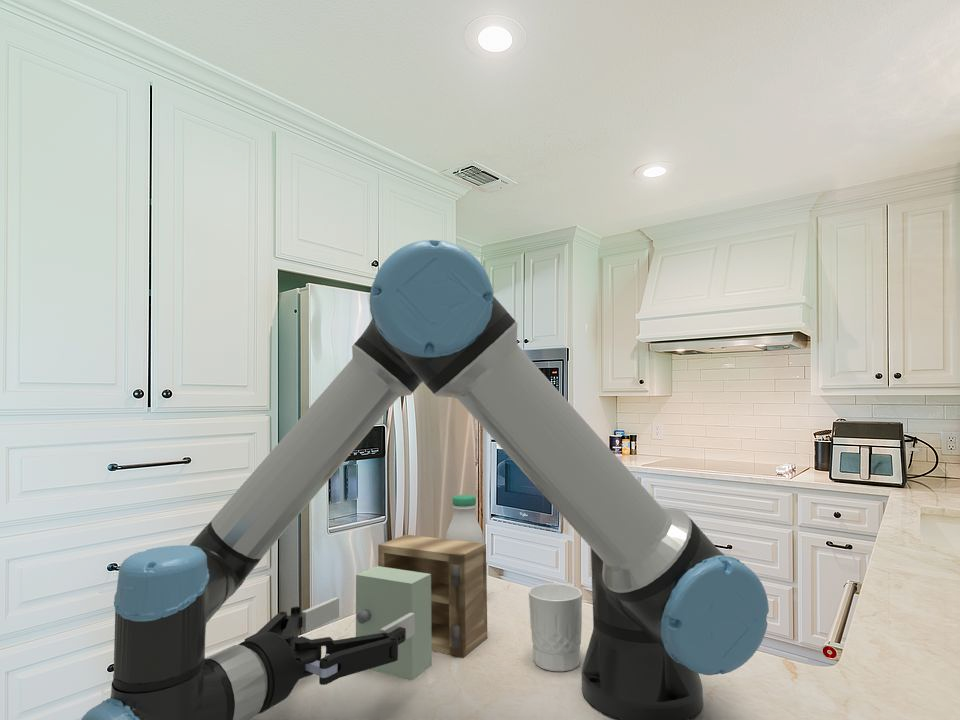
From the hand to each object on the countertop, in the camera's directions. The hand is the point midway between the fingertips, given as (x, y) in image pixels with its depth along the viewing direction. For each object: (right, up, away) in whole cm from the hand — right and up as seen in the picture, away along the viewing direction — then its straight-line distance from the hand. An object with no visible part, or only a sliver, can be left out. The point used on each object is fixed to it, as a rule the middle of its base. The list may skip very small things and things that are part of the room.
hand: (373, 614), depth 79 cm
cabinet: (+7, -9, +12) cm, 17 cm away
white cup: (+26, -8, +3) cm, 28 cm away
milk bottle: (+12, -11, +30) cm, 34 cm away
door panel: (+2, -9, +3) cm, 9 cm away
